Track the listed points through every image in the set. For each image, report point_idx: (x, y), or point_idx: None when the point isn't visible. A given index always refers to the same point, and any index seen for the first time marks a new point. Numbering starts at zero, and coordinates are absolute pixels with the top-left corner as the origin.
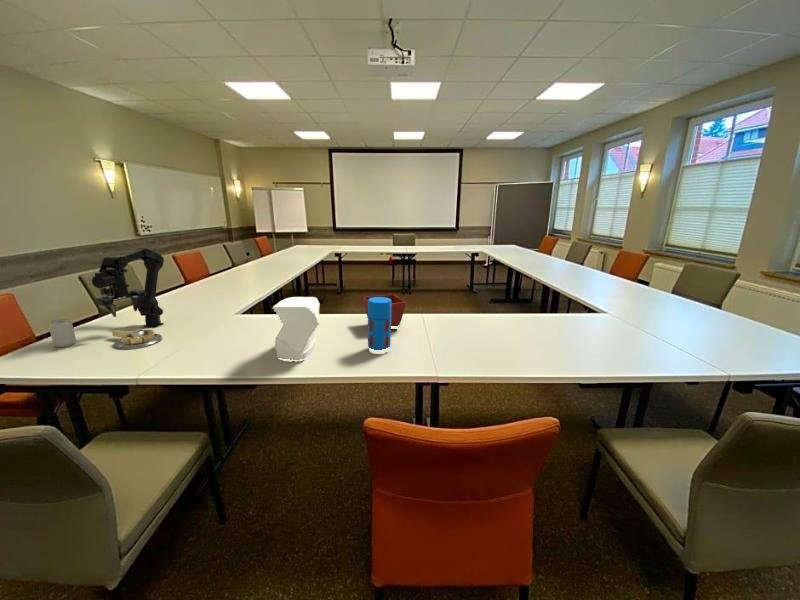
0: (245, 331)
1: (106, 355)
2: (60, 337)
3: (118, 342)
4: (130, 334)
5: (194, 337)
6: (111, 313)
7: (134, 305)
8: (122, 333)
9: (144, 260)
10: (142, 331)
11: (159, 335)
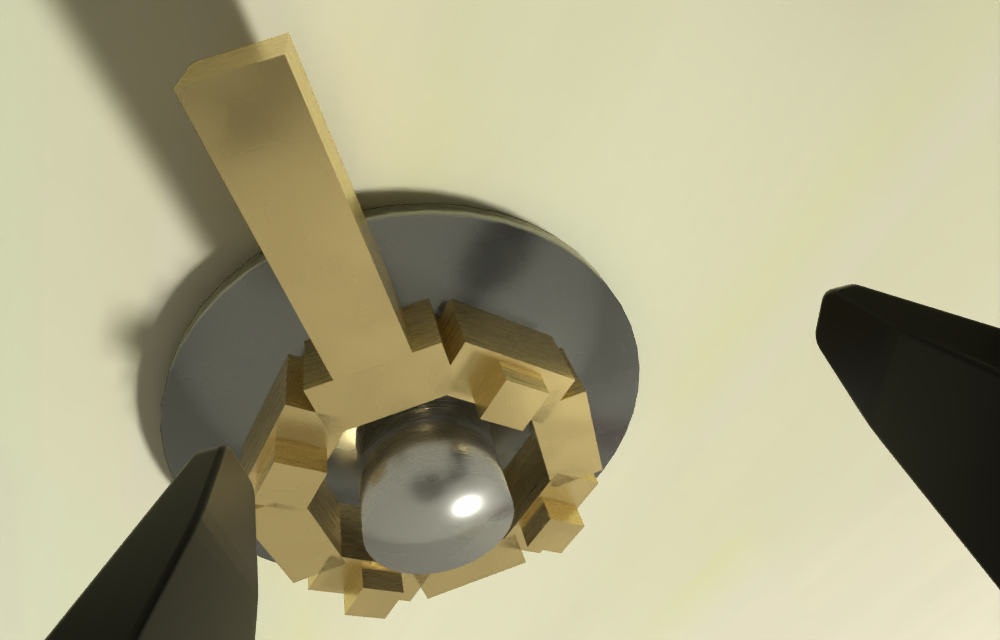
0: (909, 610)
1: (59, 565)
2: None
3: (219, 364)
4: (380, 407)
5: (725, 556)
6: (116, 569)
7: (992, 460)
8: (305, 328)
9: None
10: (477, 558)
11: (616, 424)
